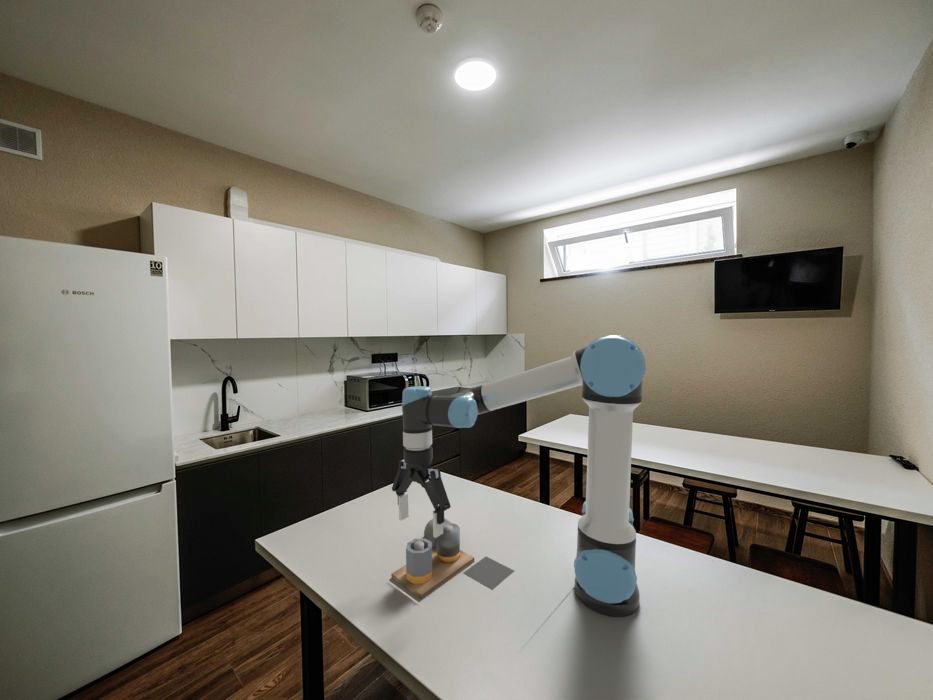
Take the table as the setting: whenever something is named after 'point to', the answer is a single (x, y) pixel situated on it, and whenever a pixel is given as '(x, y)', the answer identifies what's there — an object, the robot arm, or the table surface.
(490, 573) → the pad
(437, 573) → the pin board
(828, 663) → the table surface
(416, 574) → the sleeve
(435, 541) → the stone
